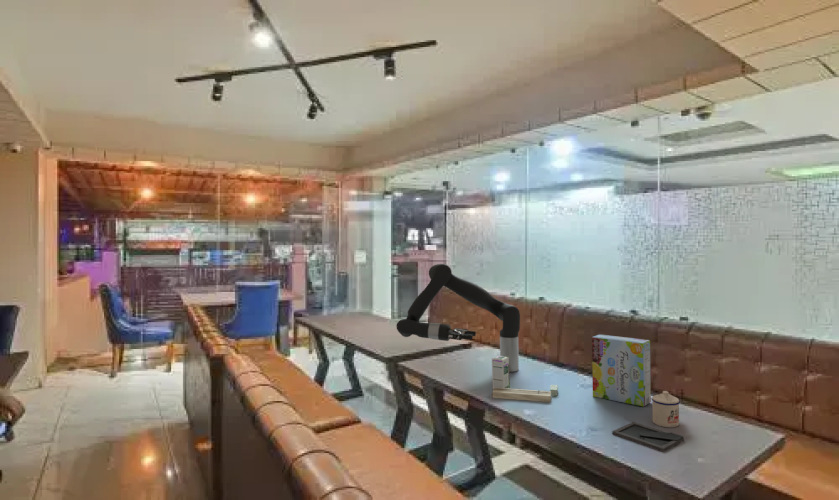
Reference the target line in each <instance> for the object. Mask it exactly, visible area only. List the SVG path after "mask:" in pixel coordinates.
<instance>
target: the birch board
mask: <svg viewBox="0 0 839 500" xmlns="http://www.w3.org/2000/svg"><path fill="white" fill-rule="evenodd" d="M492 398H493V399H507V400H518V401H533V402H542V403H543V402H544V403H545V402H546V403H551V401H552V395H551V391H550V390H549V391H547V390H535V389H534V390H533V389H520V388H494V390H493V389H492Z"/></svg>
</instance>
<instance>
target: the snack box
mask: <svg viewBox="0 0 839 500" xmlns="http://www.w3.org/2000/svg"><path fill="white" fill-rule="evenodd" d="M591 356H592V357H591V364H592V365H591V366H592V367H591V368H592V397H593V398H594V397H595V398H599V399H605V400H610V401H615V402H617V403H618V402H619V403H625V404H629V405H634V406H638V407H645V406H647V405H649V404H650V403H651V402H652V401H651V400H652V397H651V340H649V339H641V338H634V337H625V336H624V337H623V336H615V335H608V334H597V335H595V336H594V335H593V336H592V337H591Z"/></svg>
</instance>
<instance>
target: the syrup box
mask: <svg viewBox="0 0 839 500" xmlns="http://www.w3.org/2000/svg"><path fill="white" fill-rule="evenodd" d="M491 374H492V376H491V377H492V391H493V390H494V388H509V389H511V387H510V383H511V382H510V372H509V357H506V356H500V355H497V356H495V357H492V358H491Z"/></svg>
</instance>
